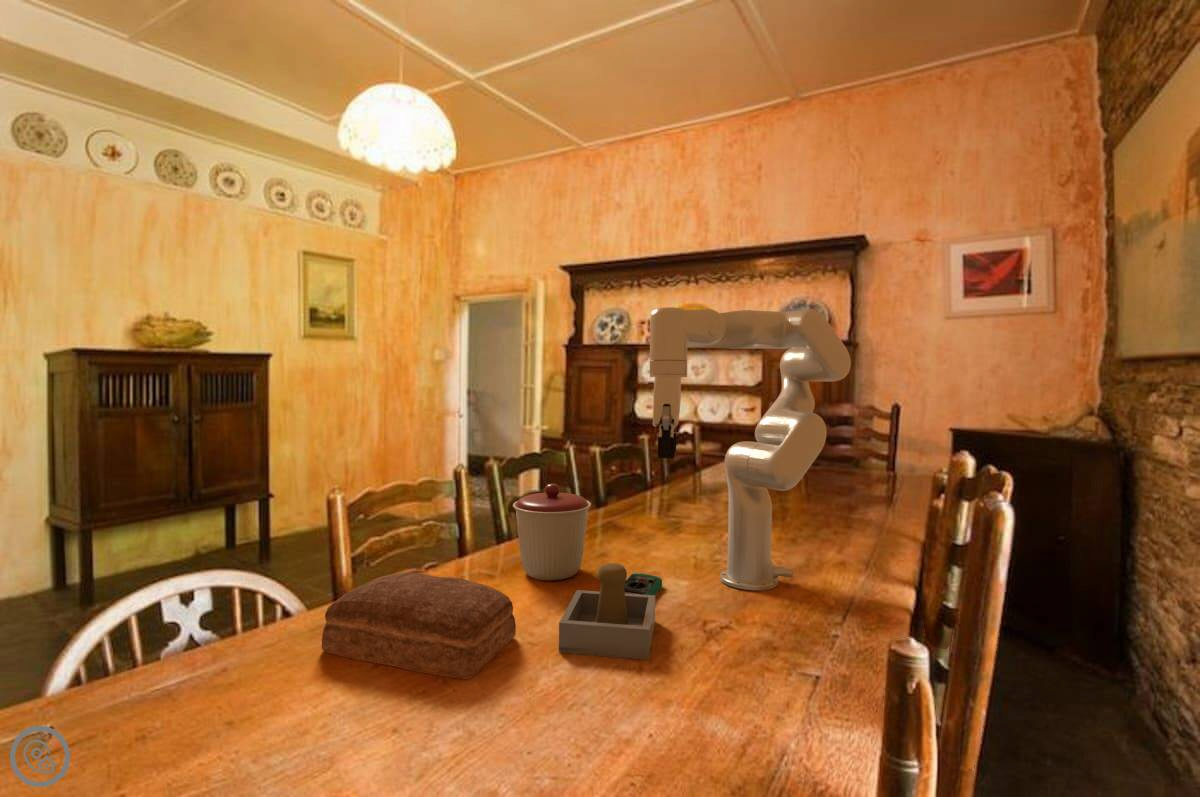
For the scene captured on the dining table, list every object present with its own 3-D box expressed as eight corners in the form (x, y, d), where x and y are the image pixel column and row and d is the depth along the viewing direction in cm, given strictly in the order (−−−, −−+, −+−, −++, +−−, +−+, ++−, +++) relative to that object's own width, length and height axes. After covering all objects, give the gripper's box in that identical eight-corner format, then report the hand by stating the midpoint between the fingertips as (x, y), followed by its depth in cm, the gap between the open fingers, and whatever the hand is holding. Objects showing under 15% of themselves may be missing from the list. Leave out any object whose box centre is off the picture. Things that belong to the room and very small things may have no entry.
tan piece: (594, 618, 107) (595, 559, 107) (627, 618, 108) (627, 559, 107) (595, 632, 101) (596, 570, 101) (630, 632, 101) (630, 570, 101)
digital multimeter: (663, 588, 127) (663, 575, 127) (643, 613, 113) (643, 598, 113) (631, 583, 130) (631, 570, 130) (608, 607, 116) (608, 593, 116)
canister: (573, 591, 123) (574, 493, 122) (498, 581, 129) (498, 488, 128) (600, 566, 140) (601, 479, 140) (533, 558, 146) (533, 475, 145)
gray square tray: (654, 621, 108) (655, 595, 108) (649, 660, 94) (649, 629, 93) (576, 615, 111) (576, 590, 111) (558, 652, 96) (559, 622, 96)
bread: (383, 615, 111) (382, 556, 110) (521, 638, 102) (522, 574, 101) (313, 655, 95) (313, 587, 94) (471, 687, 86) (471, 611, 85)
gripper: (652, 370, 125) (651, 449, 126) (646, 369, 108) (645, 460, 109) (687, 370, 124) (686, 450, 124) (686, 369, 107) (685, 461, 107)
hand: (667, 454), depth 117 cm, fingers open, 9 cm apart
